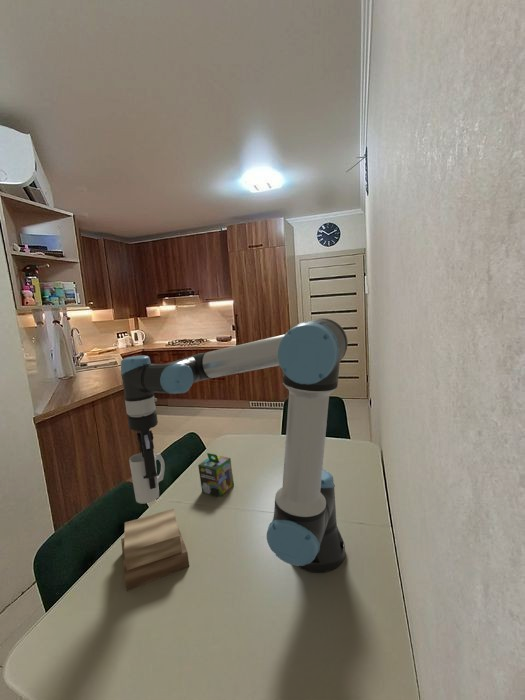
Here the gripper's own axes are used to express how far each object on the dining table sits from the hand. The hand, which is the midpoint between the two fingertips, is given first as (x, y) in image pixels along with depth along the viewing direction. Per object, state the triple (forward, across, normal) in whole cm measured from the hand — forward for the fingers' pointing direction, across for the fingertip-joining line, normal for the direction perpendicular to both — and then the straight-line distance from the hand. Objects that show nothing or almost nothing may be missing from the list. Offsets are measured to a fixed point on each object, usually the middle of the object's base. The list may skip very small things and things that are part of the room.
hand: (152, 491), depth 97 cm
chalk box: (+20, +26, -25) cm, 41 cm away
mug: (+1, +1, 0) cm, 2 cm away
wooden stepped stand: (+20, -1, +2) cm, 20 cm away
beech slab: (+15, -1, +2) cm, 15 cm away
